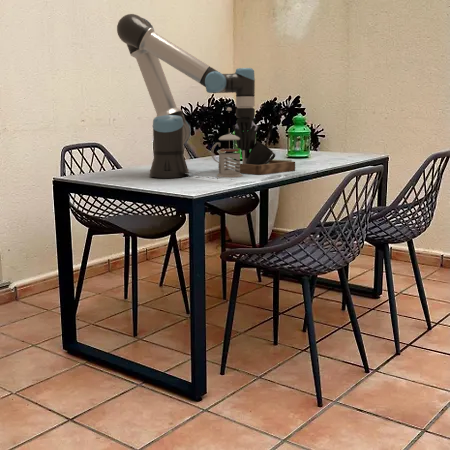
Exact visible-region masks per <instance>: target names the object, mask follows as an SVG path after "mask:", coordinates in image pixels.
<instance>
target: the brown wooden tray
mask: <svg viewBox="0 0 450 450" xmlns="http://www.w3.org/2000/svg"><path fill="white" fill-rule="evenodd" d="M278 160H279V159H277V160H269V164H263V165H252V164H243V163H240V173H241V174H245V175H256V176H257V175H258V176H260V175H268V174H269V175H270V174H276V173H277V174H278V173H285V172H294V171H296V161H293V160H292V161H278ZM234 167H236V166H234ZM234 171H236V170H235V169H234Z"/></svg>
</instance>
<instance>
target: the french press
mask: <svg viewBox="0 0 450 450" xmlns="http://www.w3.org/2000/svg"><path fill="white" fill-rule="evenodd" d="M232 110H233V109H232V107H229V106H228V107H227V108H226V111H228V112H230V111H232ZM230 131H231V130H230V129H228V134H224V135H221V136H219V138H218V140H219V141H228V148H221V142H215V144H214V145H213V146H212V147H211V157H212V159H213V161H215V162H216V163H218V174H216V177H219V178H220V177H221V178H238V177H239V178H240V177H243V176H244V175H243V173H240V164H241V152H238V151H239V150H240V149H239V148H230V147H231V145H230V141H236V140H240V138H239V137H238V136H235V134H232V133H230ZM217 145H218V147H220V149H219V151H220V152H222V153H219V154H218V158H219V159H218V160H217V159H216V158H215V155H214V154H213V152H214V150H215V148H216V147H217ZM235 166H236V167H235ZM235 170H236V171H235Z"/></svg>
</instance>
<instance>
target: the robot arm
mask: <svg viewBox="0 0 450 450" xmlns="http://www.w3.org/2000/svg"><path fill="white" fill-rule="evenodd" d="M116 32H117V33H116V34H117V36H118V37H119V39H120V41H121V42H123V43H125V44H126V47H127V48H128V52H129V54H130V56H131V57H133V58H135V59H136V62H137V66H138V67H139V70H140V72H141V75H142V79H143V81H144V83H145V86H146V89H147V91H148V94H149V98H150V99H151V102H152V105H153V108H154V110H155V112H156V117H154V118H153V121H152V132H153V133H152V136H153V138H152V139H153V140H152V141H153V160H152V163H151V168H150V169H149V176H150V177H151V178H161V179H164V178H165V179H166V178H169V179H170V178H183V177H188V176H189V175H190V174H189V172H190V171H189V168H188V165H187V161H186V159H185V156H184V155H185V154H184V153H185V152H184V151H185V150H184V149H185V147H184V145H185V144H187V143H188V141H189V140H190V137H191V126H190V124H189V122H188V121H187V120H186V118H185V115H184V113H183V110H182V109H180V108H179V107H177V104H176V102H175V98H174V96H173V94H172V90H171V89H170V86H169V83H168V81H167V77H166V75H165V72H164V70H163V66H162V64H161V61H162V62H164V63H166V64H168V65H169V66H171V67H172V68H173V69H176V70H178V71H179V72H180V73H182V74H183V75H185V76H187V77H188V78H190V79H192V80H194V81H195V82H196V83H198V84H200V85H201V86H203V87H205V90H206V93H209V94H230V93H231V94H233V93H235V94H236V95H235V107H236V108H235V116H236V118H237V120H236V124H235V125H234V124H233V125H232V129H233V131H234V135H235V136H238V137H239V138H240V140H235V142H236V147H237V149H239V150H241V159H242V164H247V163H246V162H247V159H248V156H249V153H250V151H251V149H252V147H253V146H254V144H255V143H256V138H257V131H258V129H259V127H260V126H259V125H258V124H255V120H254V118H255V114H256V113H255V112H256V110H255V108H254V107H255V102H256V101H255V92H256V79H255V70H254V69H253V68H251V67H237V68H236V69H235V72H234V73H221V71H218V69H217V70H216V69H215V68H213V67H211V66H210V65H209V64H207V63H205V61H202V60H201V59H199V58H197V57H196V56H194V55H192V54H190V53H189V52H187V51H186V50H184V49H183V48H181V47H179V46H177V45H176V44H175V43H172V42H171V41H170V40H168V39H166V38H164V37H163V36H162V35H160V34H158V33H157V32H155V29H154V27H153V25H152V24H151V22H149V21H148V20H147V19H146V18H143V17H141V16H140V15H138V14H134V13H128V14H125V15H124V16H122V17H121V18H120V19H119V20H118V22H117V25H116ZM160 60H161V61H160Z"/></svg>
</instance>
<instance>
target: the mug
mask: <svg viewBox="0 0 450 450" xmlns="http://www.w3.org/2000/svg"><path fill="white" fill-rule="evenodd" d="M275 157H276V153H275V152H274V151H273V150H272V149H270V148H269V147H268V146H266V145H265V144H263V143H262V142H260V141H257V140H256V141H255V143H254V146H253V147H252V149H250V153H249V156H248V159H247V162H246V163H247V164H252V165H263V164H267V163H269V160H273V159H276V158H275Z"/></svg>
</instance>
